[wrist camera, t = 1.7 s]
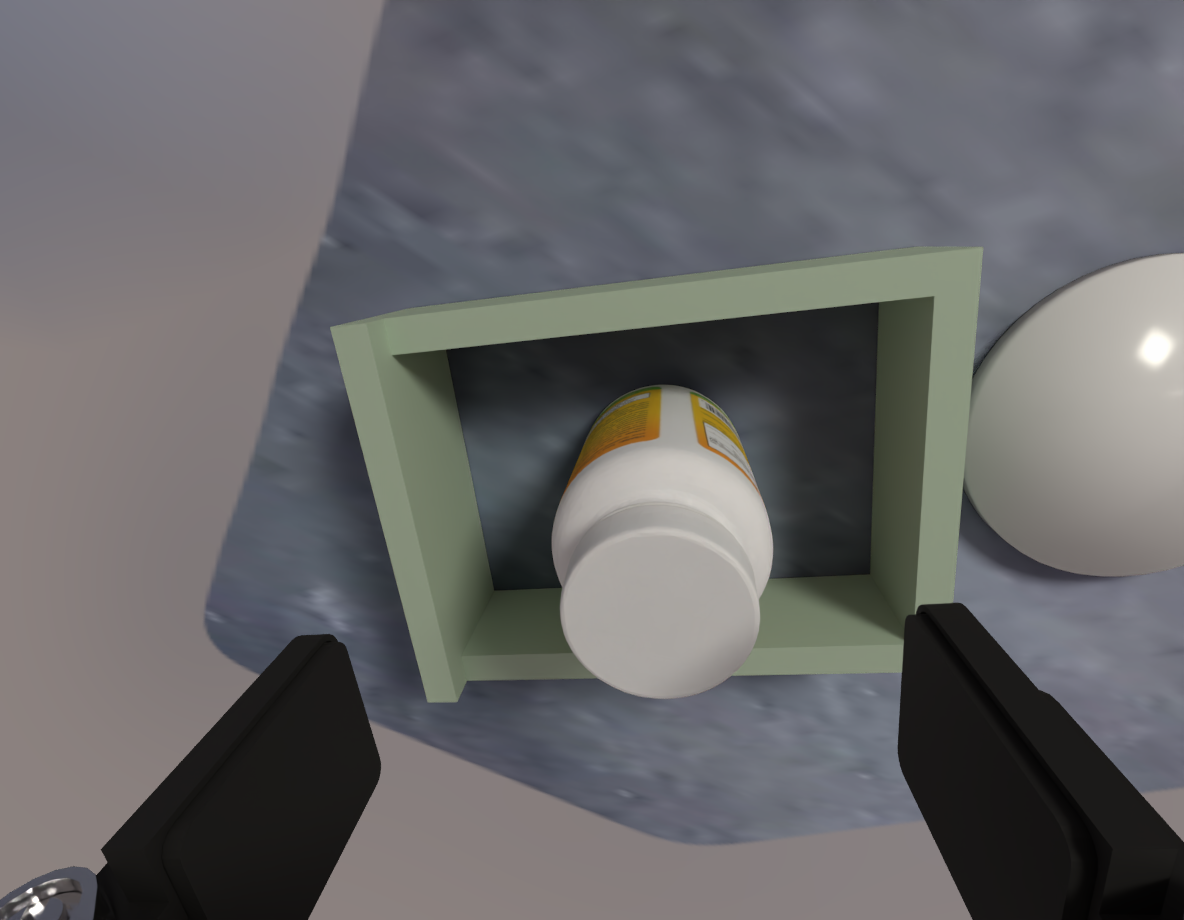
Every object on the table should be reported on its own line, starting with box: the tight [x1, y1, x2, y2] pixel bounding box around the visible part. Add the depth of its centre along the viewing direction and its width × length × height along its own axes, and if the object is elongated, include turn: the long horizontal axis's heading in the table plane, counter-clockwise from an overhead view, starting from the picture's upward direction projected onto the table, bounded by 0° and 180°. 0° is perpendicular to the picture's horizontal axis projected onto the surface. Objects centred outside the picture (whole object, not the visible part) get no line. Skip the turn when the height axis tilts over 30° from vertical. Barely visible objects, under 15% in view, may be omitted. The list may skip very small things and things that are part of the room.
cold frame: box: [330, 247, 983, 702], centre depth 18 cm, size 16×12×5 cm
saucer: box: [963, 253, 1184, 577], centre depth 18 cm, size 10×10×1 cm
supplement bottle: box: [552, 385, 773, 699], centre depth 16 cm, size 5×5×10 cm
